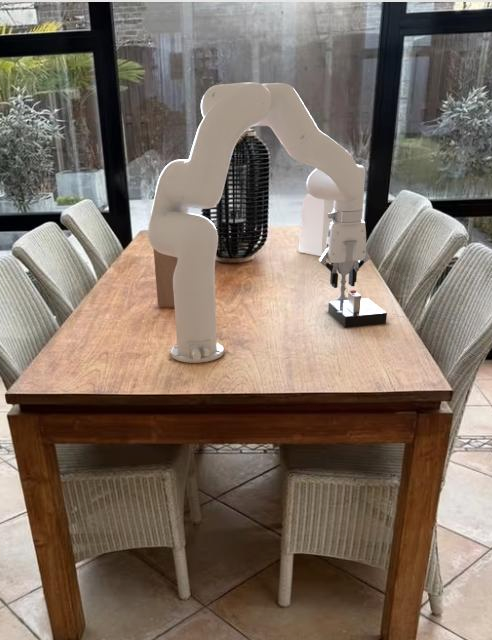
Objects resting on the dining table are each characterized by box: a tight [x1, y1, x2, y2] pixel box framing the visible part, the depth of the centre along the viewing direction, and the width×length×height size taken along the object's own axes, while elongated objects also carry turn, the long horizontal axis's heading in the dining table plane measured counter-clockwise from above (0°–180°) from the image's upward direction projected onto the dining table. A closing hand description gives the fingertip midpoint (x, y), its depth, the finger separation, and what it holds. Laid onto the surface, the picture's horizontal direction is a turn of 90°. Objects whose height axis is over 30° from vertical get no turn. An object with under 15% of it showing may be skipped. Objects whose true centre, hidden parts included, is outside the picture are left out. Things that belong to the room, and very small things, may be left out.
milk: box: [297, 192, 334, 257], centre depth 239 cm, size 12×12×26 cm
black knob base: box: [327, 297, 388, 329], centre depth 173 cm, size 14×12×3 cm
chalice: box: [334, 241, 357, 301], centre depth 180 cm, size 7×7×18 cm
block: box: [152, 247, 178, 309], centre depth 190 cm, size 10×10×20 cm
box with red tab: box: [347, 289, 362, 314], centre depth 169 cm, size 5×2×5 cm, turn 8°
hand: (342, 285), depth 182 cm, fingers closed on chalice, 4 cm apart
